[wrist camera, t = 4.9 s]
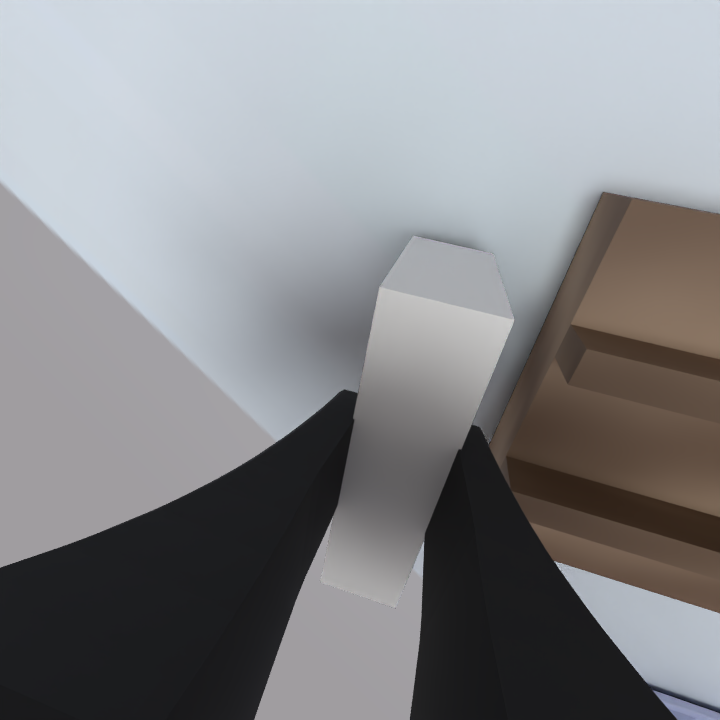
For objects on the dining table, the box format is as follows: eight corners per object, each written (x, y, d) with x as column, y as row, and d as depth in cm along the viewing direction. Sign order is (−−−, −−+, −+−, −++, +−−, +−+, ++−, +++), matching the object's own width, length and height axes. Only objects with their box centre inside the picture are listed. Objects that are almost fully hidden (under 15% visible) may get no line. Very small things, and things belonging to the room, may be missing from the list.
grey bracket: (414, 480, 14) (395, 608, 10) (360, 463, 15) (320, 581, 11) (493, 253, 10) (514, 320, 6) (412, 235, 10) (378, 287, 6)
